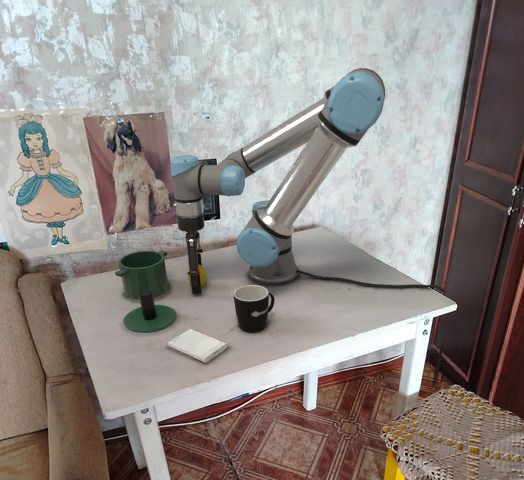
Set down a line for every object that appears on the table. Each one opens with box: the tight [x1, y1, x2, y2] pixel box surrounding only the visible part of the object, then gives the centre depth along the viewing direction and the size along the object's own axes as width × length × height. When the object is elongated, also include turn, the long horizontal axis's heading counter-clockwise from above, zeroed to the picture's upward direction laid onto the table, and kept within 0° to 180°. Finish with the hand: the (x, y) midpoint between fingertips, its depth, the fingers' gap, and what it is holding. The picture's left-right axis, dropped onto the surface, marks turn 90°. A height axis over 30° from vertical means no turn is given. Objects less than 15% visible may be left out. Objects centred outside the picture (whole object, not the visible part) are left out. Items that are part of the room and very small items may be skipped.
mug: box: [233, 284, 276, 334], centre depth 130 cm, size 12×9×10 cm
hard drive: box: [167, 328, 228, 364], centre depth 124 cm, size 2×8×12 cm
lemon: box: [187, 265, 208, 288], centre depth 150 cm, size 6×6×8 cm
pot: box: [114, 250, 170, 301], centre depth 148 cm, size 13×18×10 cm
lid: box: [123, 290, 177, 334], centre depth 134 cm, size 14×14×9 cm
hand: (197, 283), depth 151 cm, fingers open, 13 cm apart
